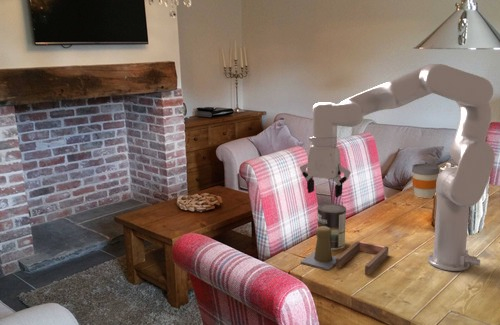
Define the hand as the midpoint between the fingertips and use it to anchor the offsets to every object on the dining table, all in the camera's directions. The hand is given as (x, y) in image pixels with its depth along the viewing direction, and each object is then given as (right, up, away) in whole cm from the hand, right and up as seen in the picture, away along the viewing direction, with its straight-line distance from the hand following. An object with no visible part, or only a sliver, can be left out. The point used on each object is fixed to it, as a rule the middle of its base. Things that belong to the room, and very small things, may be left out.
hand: (324, 194), depth 147 cm
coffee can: (+6, -20, +19) cm, 28 cm away
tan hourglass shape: (+1, -22, +6) cm, 23 cm away
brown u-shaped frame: (+13, -23, +4) cm, 27 cm away
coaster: (0, -23, +5) cm, 23 cm away
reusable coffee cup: (+61, -7, +76) cm, 98 cm away
